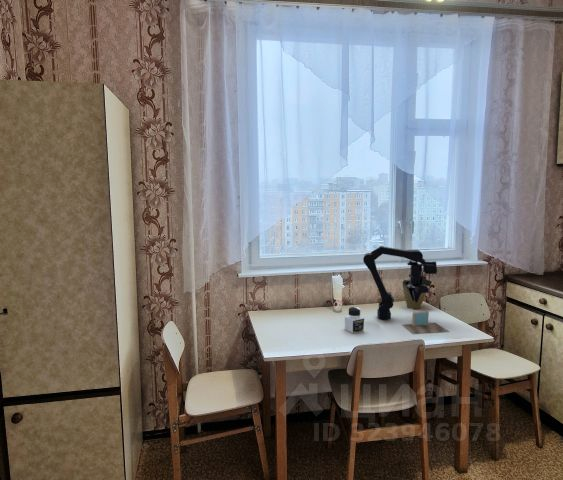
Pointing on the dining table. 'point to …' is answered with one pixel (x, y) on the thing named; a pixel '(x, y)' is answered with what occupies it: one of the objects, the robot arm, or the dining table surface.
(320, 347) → the dining table surface
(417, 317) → the tile
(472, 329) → the dining table surface
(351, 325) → the medicine bottle
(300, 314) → the dining table surface
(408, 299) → the plant pot
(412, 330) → the board
